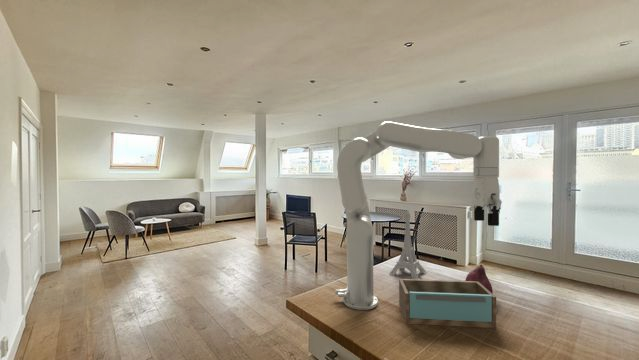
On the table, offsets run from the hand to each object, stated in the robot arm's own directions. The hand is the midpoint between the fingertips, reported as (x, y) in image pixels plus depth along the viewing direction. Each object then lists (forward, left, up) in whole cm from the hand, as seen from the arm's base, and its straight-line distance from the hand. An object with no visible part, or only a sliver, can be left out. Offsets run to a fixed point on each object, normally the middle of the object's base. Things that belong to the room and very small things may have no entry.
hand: (485, 222), depth 93 cm
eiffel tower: (-20, +32, -30) cm, 48 cm away
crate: (-16, -6, -30) cm, 34 cm away
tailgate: (-16, -12, -28) cm, 34 cm away
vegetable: (+1, +9, -30) cm, 31 cm away
